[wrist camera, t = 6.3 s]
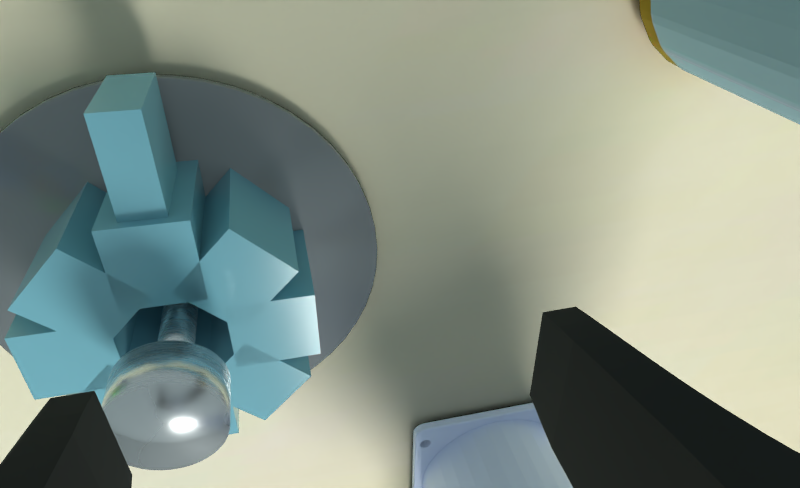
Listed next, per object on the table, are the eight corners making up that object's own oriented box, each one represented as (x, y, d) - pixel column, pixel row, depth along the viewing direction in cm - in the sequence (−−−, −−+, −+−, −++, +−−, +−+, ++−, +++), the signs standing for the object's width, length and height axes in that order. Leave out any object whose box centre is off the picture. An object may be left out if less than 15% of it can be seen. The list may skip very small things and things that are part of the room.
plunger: (238, 306, 20) (238, 456, 15) (147, 319, 20) (115, 480, 15) (224, 233, 19) (219, 374, 13) (123, 244, 18) (79, 397, 13)
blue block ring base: (378, 372, 24) (400, 450, 21) (40, 429, 22) (7, 527, 19) (369, 49, 17) (400, 93, 14) (-138, 81, 15) (-243, 143, 11)
